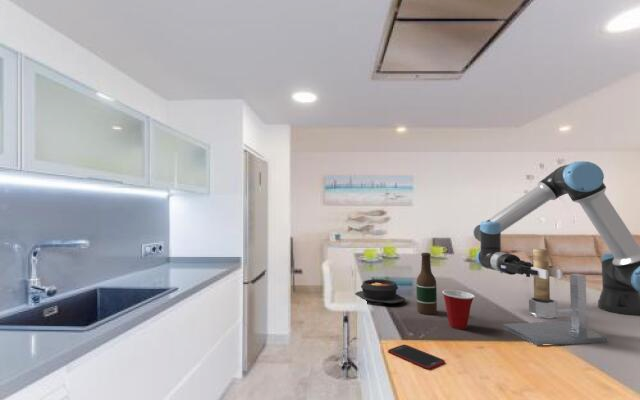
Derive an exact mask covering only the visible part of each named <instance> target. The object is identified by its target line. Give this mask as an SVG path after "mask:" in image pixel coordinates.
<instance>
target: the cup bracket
mask: <svg viewBox="0 0 640 400" xmlns="http://www.w3.org/2000/svg"><path fill="white" fill-rule="evenodd" d="M586 277H587V276H586V274H582V273H581V274H580V273H569V289H570V291H569V292H570V293H569V295H570V308H565V309H563V308H562V309H559V308H558V300H555V299H552V298H550V300H540V299H536V298H534V296H533V297H532V296H531V297H529V298H528V313H529V315H530V316H532V317H534V318H538V319H545V320H554V319H555V320H556V319H558V318H562V317H570V322H569V321H566V320H561V321H560V320H559V321H558V320H557V321H538V322H518V323H517V322H516V323H514V322H513V323H502V329H503V330H505V331H507V332H509V333H511V335H512V334H513V335H514V334H515V336H516V337H519V338H520V339H523V340H524V341H526V340H527V341H526V342H528V341H529V342H528V343H530V342H531V343H533V344H535V345H543V344H557V345H556V346H560V345H561V346H562V345H577V344H578V345H581V344H593V343H594V344H596V343H608V336H605V335H602V334H600V333H597V332H595V331H592V330H589V329H588V317H587V316H588V313H587V312H588V310H587V281H586V280H587V279H586ZM531 343H530V344H531ZM533 344H532V345H533ZM535 345H534V346H535Z"/></svg>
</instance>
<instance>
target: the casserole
mask: <svg viewBox="0 0 640 400" xmlns="http://www.w3.org/2000/svg"><path fill="white" fill-rule="evenodd" d="M360 287H361V290H359V291H356V292H355V293H354V295H355V296H358V297H359V298H360V299H362V300H365V301H367V302H369V303H374V304H397V303H402V302H404V301H406V298H405V297H404V296H401V295H399V294H397V290H398V289H399V287H398V286H397V283H396V282H395V281H394V280H390V279H384V278H383V279H382V278H381V279H380V278H379V279H378V278H375V279H374V278H372V279H367V280H364V281H362V284H361V285H360Z"/></svg>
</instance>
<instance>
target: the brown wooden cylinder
mask: <svg viewBox="0 0 640 400" xmlns="http://www.w3.org/2000/svg"><path fill="white" fill-rule="evenodd" d="M532 250H533V251H532V258H533V261H532V262H533V267H535V268H539V269H544V270H548V279H543V278H540V277H536V276H533V297H534V298H536V299H540V300H550V299H551V297H550V296H551V295H550V294H551V293H550V291H551V288H550V276H549V266H550V249H546V248H545V249H543V248H533V249H532Z"/></svg>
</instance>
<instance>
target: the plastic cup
mask: <svg viewBox="0 0 640 400" xmlns="http://www.w3.org/2000/svg"><path fill="white" fill-rule="evenodd" d="M442 294H443V298H444V303H445V307H446V308H445V310H446V316H447V320H448V324H449V326H450V327H451V328H453V329H458V330H464V329H467V328H468V324H469V318H470V313H471V307H472V304H473V300H474V299H475V295H474V294H473V293H471V292H466V291H462V290H457V289H456V290H454V289H444V290H442Z"/></svg>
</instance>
